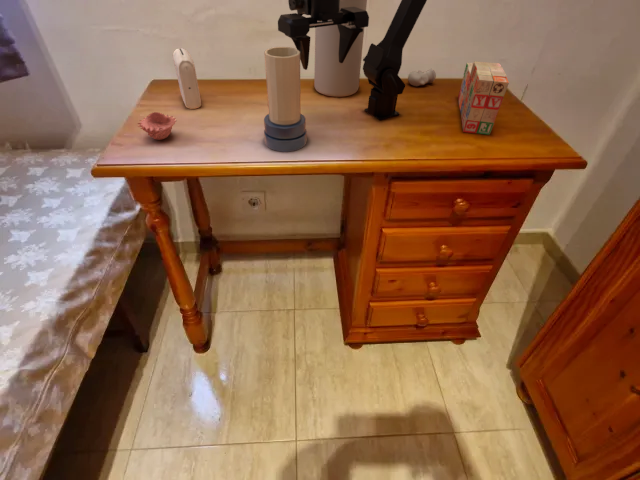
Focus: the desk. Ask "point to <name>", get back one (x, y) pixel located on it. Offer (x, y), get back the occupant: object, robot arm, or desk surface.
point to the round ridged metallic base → (285, 135)
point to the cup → (283, 84)
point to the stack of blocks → (481, 96)
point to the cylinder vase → (337, 59)
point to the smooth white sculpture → (421, 77)
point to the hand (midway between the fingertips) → (323, 65)
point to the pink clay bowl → (157, 125)
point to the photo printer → (187, 78)
